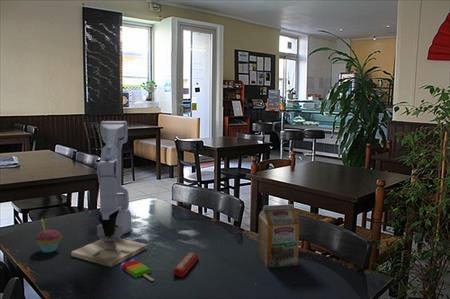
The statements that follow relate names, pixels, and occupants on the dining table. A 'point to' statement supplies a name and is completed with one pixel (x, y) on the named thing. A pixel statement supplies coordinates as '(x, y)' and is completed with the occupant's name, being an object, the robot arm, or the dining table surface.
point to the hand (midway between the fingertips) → (109, 233)
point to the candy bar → (185, 264)
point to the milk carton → (278, 236)
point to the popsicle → (137, 269)
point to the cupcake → (48, 239)
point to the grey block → (115, 234)
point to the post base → (109, 251)
